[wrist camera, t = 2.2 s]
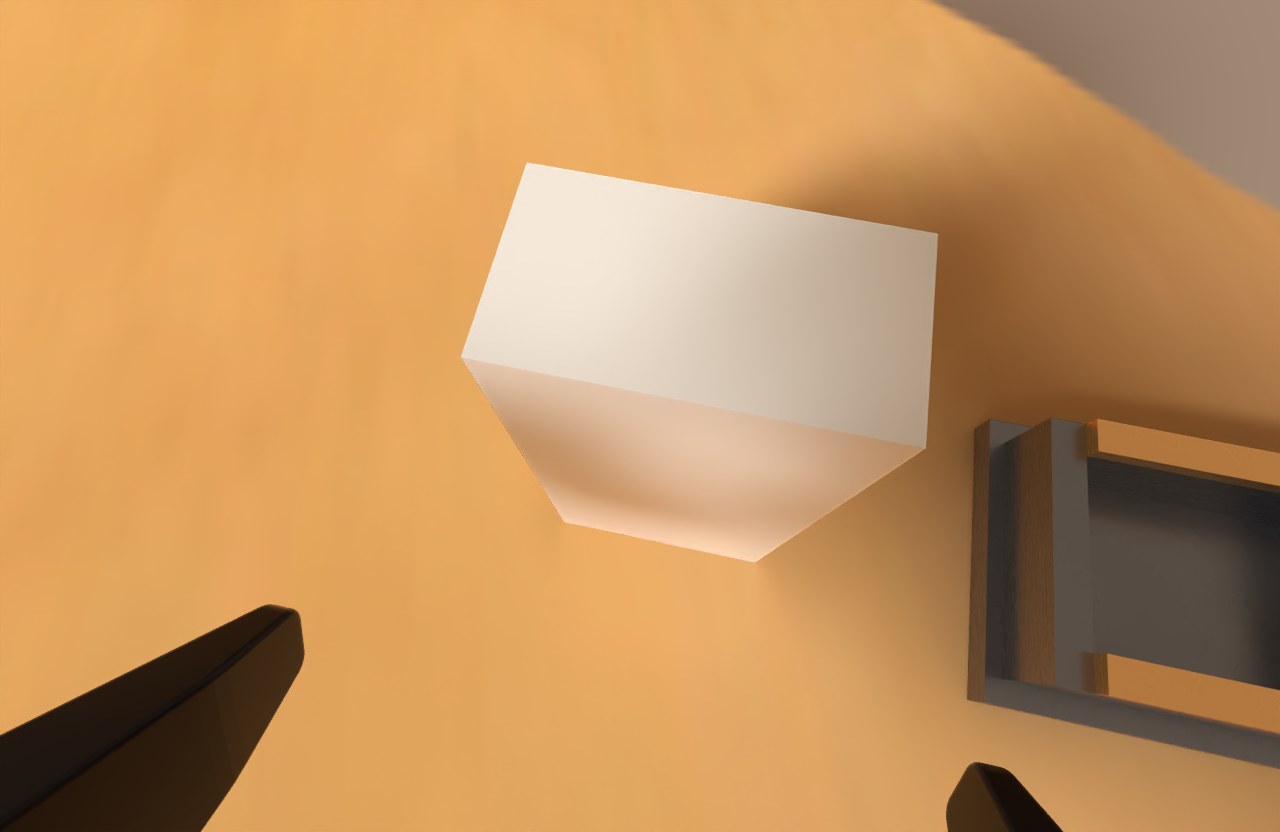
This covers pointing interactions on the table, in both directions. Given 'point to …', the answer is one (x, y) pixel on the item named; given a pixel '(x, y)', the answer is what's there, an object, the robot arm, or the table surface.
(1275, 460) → the rack
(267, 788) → the table surface
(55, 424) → the table surface
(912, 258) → the white rectangular block
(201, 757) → the robot arm
